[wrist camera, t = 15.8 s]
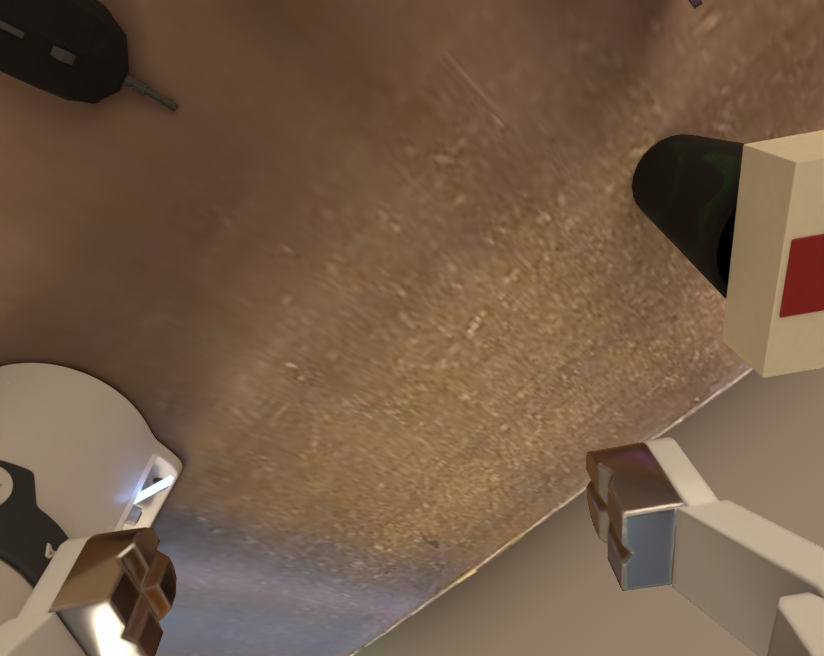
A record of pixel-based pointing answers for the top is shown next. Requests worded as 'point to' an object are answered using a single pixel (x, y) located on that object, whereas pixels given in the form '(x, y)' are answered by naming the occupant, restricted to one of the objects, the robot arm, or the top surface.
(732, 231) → the cup
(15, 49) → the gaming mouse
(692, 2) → the purple toy figure frame
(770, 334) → the packet
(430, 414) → the top surface
